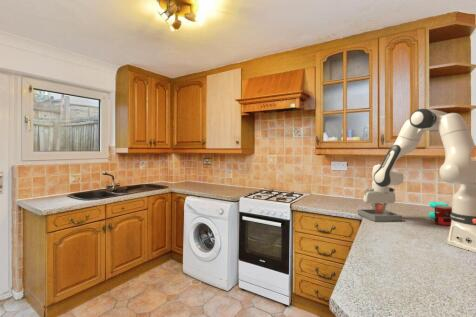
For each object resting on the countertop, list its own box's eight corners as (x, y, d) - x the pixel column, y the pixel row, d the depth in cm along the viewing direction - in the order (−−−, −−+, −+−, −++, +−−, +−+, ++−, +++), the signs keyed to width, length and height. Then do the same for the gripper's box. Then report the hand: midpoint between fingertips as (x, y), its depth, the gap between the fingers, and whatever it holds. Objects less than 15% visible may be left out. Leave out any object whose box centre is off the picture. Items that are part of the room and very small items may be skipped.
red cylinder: (385, 213, 163) (385, 204, 163) (377, 213, 162) (378, 204, 162) (379, 211, 168) (380, 203, 168) (372, 212, 167) (373, 203, 167)
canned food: (435, 221, 157) (435, 204, 156) (452, 224, 151) (452, 206, 151) (433, 224, 151) (433, 205, 151) (450, 227, 146) (451, 208, 145)
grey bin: (401, 221, 157) (401, 215, 157) (374, 221, 155) (374, 216, 155) (382, 214, 175) (382, 209, 175) (357, 214, 173) (357, 209, 173)
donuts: (452, 204, 162) (438, 204, 161) (452, 219, 162) (438, 220, 161) (439, 201, 172) (425, 201, 171) (438, 216, 172) (425, 216, 171)
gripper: (367, 189, 160) (367, 211, 161) (397, 189, 162) (396, 210, 163) (361, 188, 167) (361, 208, 167) (390, 187, 169) (389, 208, 169)
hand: (379, 209), depth 165 cm, fingers closed on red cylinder, 5 cm apart
